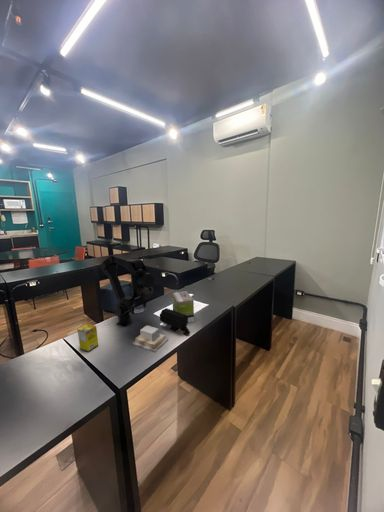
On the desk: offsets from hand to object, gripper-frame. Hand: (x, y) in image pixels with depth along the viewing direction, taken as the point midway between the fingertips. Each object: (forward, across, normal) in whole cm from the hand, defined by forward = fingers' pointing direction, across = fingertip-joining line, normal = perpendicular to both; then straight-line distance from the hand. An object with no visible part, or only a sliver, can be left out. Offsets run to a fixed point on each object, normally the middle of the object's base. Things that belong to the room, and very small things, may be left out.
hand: (138, 310), depth 116 cm
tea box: (+12, +23, -14) cm, 30 cm away
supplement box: (+12, -23, +12) cm, 29 cm away
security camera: (+12, +10, -17) cm, 23 cm away
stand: (+12, -6, -12) cm, 18 cm away
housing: (+9, -6, -12) cm, 16 cm away
